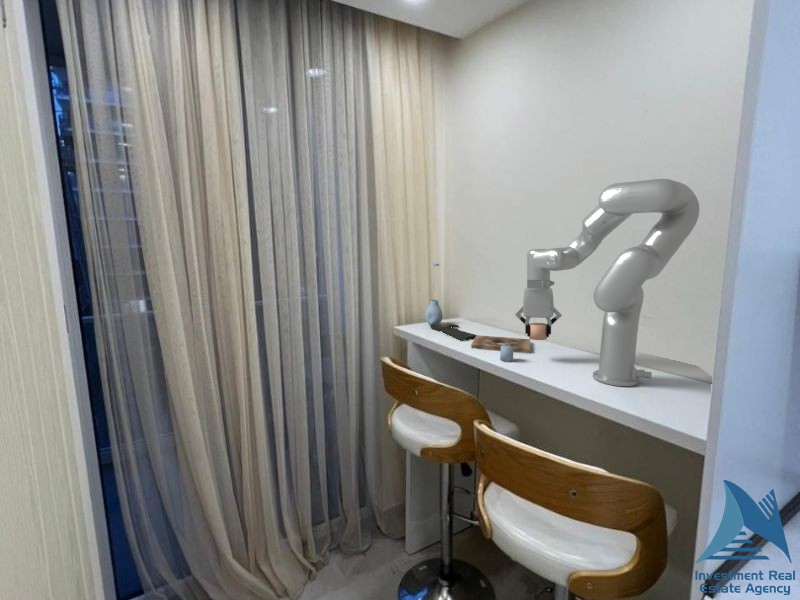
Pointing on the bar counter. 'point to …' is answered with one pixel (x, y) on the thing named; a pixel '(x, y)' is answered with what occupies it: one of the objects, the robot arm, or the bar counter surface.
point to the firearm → (453, 331)
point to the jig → (491, 341)
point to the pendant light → (434, 309)
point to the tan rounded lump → (538, 331)
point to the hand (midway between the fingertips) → (538, 335)
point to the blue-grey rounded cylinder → (506, 353)
